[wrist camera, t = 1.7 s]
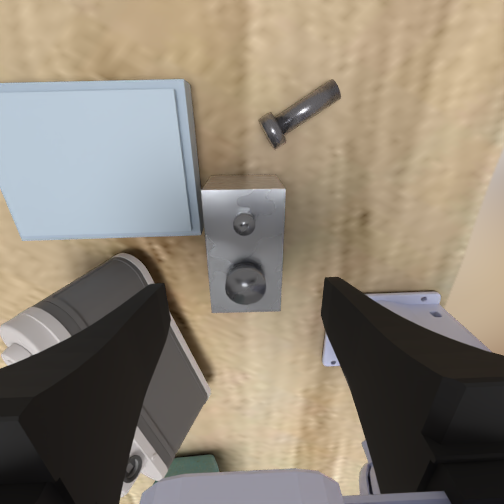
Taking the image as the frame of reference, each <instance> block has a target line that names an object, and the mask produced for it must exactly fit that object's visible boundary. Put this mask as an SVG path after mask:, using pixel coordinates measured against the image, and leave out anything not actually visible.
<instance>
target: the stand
mask: <svg viewBox="0 0 504 504" xmlns="http://www.w3.org/2000/svg"><path fill="white" fill-rule="evenodd" d="M0 189H1V191H2V194H3V196H4V198H5V201H6V203H7V205H8V208H9V210H10V213H11V215H12V217H13V220H14V222H15V225H16V227H17V229H18V232H19V234H20V237H21V239H22V241H31V240H62V239H93V238H125V237H156V236H188V235H201V234H202V231H203V229H204V218H203V207H202V196H201V184H200V174H199V164H198V155H197V145H196V135H195V125H194V116H193V106H192V96H191V87H190V84H189V83H188V82H186V81H185V80H184V79H166V80H120V81H75V82H29V83H0Z"/></svg>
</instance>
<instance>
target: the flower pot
mask: <svg viewBox="0 0 504 504" xmlns="http://www.w3.org/2000/svg"><path fill="white" fill-rule="evenodd" d="M212 472H219V468H218V465H217V462H216V460H215V457H214V456H213V455H200V456H191V457H180V458H174V460H173V462H172V463H171V465H170V467H169V469H168V472H167V473H166V475H165V477H164V478H166V477H171V476H176V475H181V474H191V473H212ZM157 482H158V481H155V482H154V484H155V483H157ZM154 484H153V485H154Z"/></svg>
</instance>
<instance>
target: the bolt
mask: <svg viewBox="0 0 504 504" xmlns="http://www.w3.org/2000/svg"><path fill="white" fill-rule="evenodd" d="M340 98H341V95H340V90H339V88H338V85H337V84H336V82H335V81H334V80H333V79H331V80H330V81H328V82H327V83H325V84H324V85H322V86H321V87H319V88H318V89H316V90H315V91H313V92H312V93H310V94H309V95H307V96H306V97H304V98H303V99H301V100H300V101H298V102H297V103H295V104H294V105H292V106H291V107H289V108H288V109H286V110H285V111H283V112H282V113H280V114H279V115H277V116H276V117H274V116H273V115H272V113H271V112H269V113H268V114H266V115H265V116H263V117H262V118H260V119H259V123H260V125H261V127H262V129H263V131H264V133H265V135H266V136H267V138H268V140H269V142H270V144H271V145H272V147H273V148H274V150H275V149H277V148H278V147H280V146H281V145H283V144H285V143H286V140H285V137H284V135H285V134H287V133H288V132H290V131H291V130H293V129H295V128H296V127H298V126H299V125H301V124H302V123H304V122H305V121H307V120H308V119H310V118H312V117H313V116H315V115H316V114H318V113H319V112H321V111H322V110H324V109H325V108H327V107H329V106H330V105H332V104H333V103H335V102H336V101H338V100H339V99H340Z"/></svg>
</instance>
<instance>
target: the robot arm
mask: <svg viewBox="0 0 504 504" xmlns="http://www.w3.org/2000/svg"><path fill="white" fill-rule="evenodd" d="M422 297H423V298H422ZM421 298H422V299H421ZM440 299H441V295H440V294H439V293H438V292H406V293H379V294H363V293H362V292H360V291H359V290H357V289H356V288H355V287H353V286H352V285H350V284H349V283H347V282H346V281H344V280H343V279H341V278H339V277H325V280H324V290H323V299H322V308H321V317H322V320H323V324H324V328H325V340H324V348H323V356H322V362H323V365H325V366H341V368H342V371H343V373H344V376H345V378H346V381H347V383H348V386H349V388H350V390H351V394H352V397H353V400H354V403H355V406H356V409H357V412H358V415H359V419H360V422H361V425H362V429H363V432H364V435H365V438H366V440H364V441H363V442H362V446H363V449H364V452H365V454H366V457H367V460H368V463H366V464H364V466H363V467H362V468H361V471H360V476H359V488H360V495H353V496H342V494H341V490H340V487H339V483H337V482H336V481H335V480H333V479H332V478H330V477H328V476H326V475H324V474H323V473H321V472H319V471H315V470H306V469H296V468H294V469H274V470H253V471H232V472H212V473H191V474H181V475H176V476H171V477H166V478H162V479H161V480H159V481H158V482H157V483H155V484H154V485H152V486H151V487H150V488H148V489H147V490H146V491H144V492H143V493H142V496H141V500H140V504H504V356H503V355H499V354H495V353H492V352H491V351H490V350H489V349H488V348H487V347H486V346H485V345H484V344H483V343H482V342H481V341H479V340H478V339H477V338H476V337H475V336H474V335H473V334H472V333H471V332H469V331H468V330H467V329H466V328H465V327H464V326H463V325H461V324H460V323H459V322H458V321H457V320H456V319H455V318H454V317H453V316H451V315H450V314H449V313H448V312H447V311H446V310H445V309H444V308H443V307H442V306H440V305H439V302H440ZM170 323H171V317H170V312H169V306H168V301H167V296H166V290H165V285H164V283H156V284H149V285H148V286H146V287H145V288H143V289H142V290H140V291H139V292H138V293H136V294H135V295H134V296H132V297H131V298H130V299H128V300H127V301H126V302H124V303H123V304H121V305H120V306H119V307H117V308H116V309H114V310H113V311H111V312H110V313H109V314H107V315H106V316H104V317H103V318H101V319H100V320H98V321H97V322H95V323H93V324H92V325H90V326H89V327H87V328H85V329H84V330H82V331H80V332H78V333H77V334H75V335H73V336H71V337H69V338H67V339H66V340H64V341H62V342H59V343H57V344H55V345H53V346H51V347H49V348H47V349H45V350H43V351H41V352H39V353H37V354H35V355H32V356H30V357H28V358H25V359H23V360H21V361H18V362H16V363H14V364H11V365H9V366H6V367H4V368H1V369H0V504H119V501H120V496H121V492H122V487H123V482H124V478H125V473H126V469H127V465H128V460H129V456H130V452H131V447H132V443H133V439H134V436H135V432H136V428H137V424H138V420H139V416H140V413H141V409H142V406H143V402H144V398H145V395H146V392H147V389H148V386H149V384H150V381H151V379H152V376H153V374H154V371H155V369H156V366H157V363H158V361H159V358H160V356H161V353H162V351H163V348H164V345H165V343H166V340H167V336H168V332H169V327H170Z"/></svg>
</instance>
